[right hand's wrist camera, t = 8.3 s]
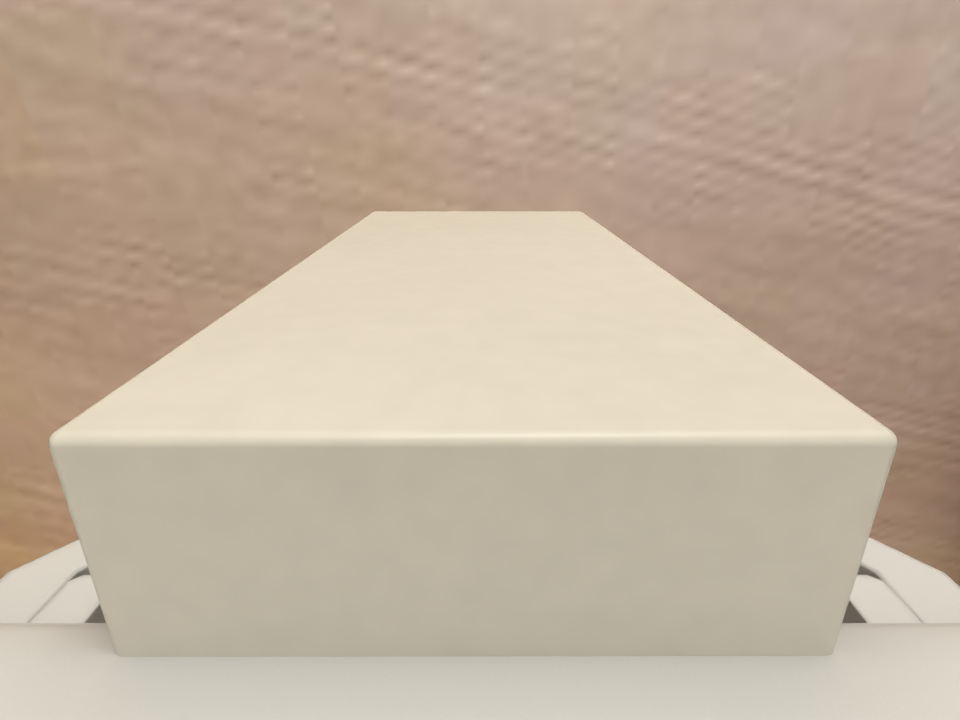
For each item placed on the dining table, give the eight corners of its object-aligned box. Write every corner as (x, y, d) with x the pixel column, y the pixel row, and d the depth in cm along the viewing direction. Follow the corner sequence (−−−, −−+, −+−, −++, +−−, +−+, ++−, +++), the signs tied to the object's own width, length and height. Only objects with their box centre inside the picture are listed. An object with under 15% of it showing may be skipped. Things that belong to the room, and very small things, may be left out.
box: (371, 210, 16) (37, 436, 4) (583, 210, 16) (909, 434, 4) (407, 723, 23) (333, 1332, 11) (549, 723, 23) (622, 1330, 11)
